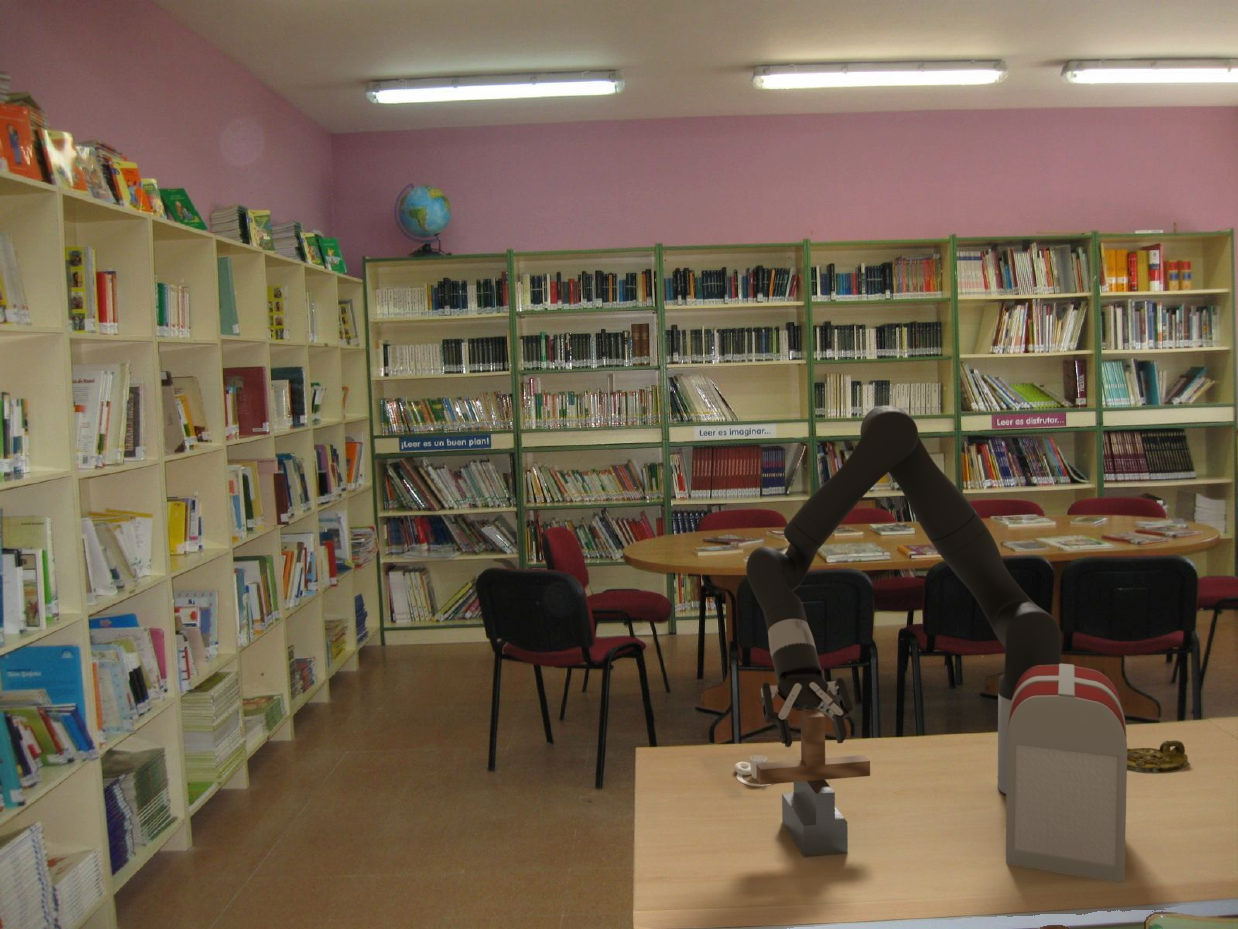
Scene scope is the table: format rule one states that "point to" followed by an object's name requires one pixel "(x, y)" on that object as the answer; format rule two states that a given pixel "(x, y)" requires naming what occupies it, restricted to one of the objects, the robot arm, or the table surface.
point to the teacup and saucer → (749, 769)
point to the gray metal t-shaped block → (814, 819)
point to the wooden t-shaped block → (812, 758)
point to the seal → (1158, 758)
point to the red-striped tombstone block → (1066, 773)
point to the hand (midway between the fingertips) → (815, 743)
